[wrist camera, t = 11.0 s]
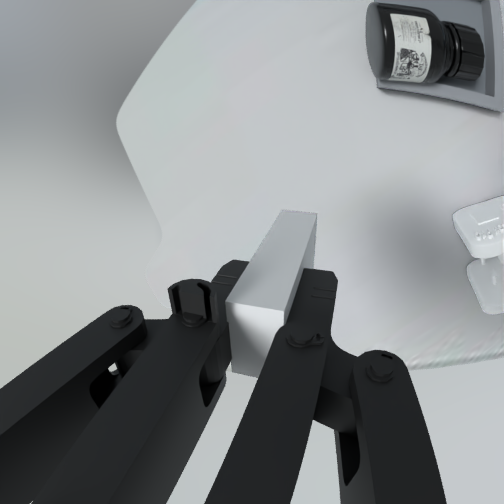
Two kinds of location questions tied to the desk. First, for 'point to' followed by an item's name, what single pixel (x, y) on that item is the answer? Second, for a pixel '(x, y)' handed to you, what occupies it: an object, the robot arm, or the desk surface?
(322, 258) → the desk surface
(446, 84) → the tray
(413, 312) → the desk surface
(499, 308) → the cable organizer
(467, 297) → the desk surface
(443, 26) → the ink bottle
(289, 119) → the desk surface
